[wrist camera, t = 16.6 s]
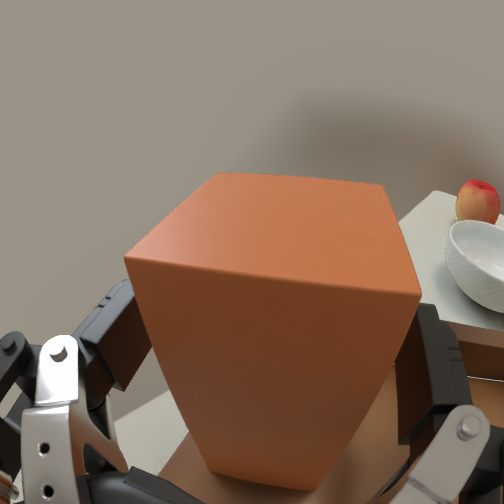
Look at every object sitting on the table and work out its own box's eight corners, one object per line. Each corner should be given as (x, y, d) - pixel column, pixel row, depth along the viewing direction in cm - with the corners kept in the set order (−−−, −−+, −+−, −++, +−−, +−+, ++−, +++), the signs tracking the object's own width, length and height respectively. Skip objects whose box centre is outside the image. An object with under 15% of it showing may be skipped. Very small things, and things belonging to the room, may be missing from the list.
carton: (209, 471, 11) (121, 256, 5) (238, 393, 15) (217, 171, 9) (314, 491, 10) (424, 294, 4) (328, 407, 14) (383, 184, 8)
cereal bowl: (432, 314, 30) (452, 264, 27) (436, 249, 42) (446, 209, 39) (538, 344, 23) (564, 300, 19) (519, 275, 35) (533, 238, 31)
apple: (450, 215, 54) (459, 171, 48) (488, 228, 49) (499, 184, 44) (450, 233, 47) (462, 182, 42) (493, 247, 42) (508, 198, 37)
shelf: (186, 508, 15) (129, 463, 9) (264, 378, 25) (264, 279, 19) (469, 560, 7) (577, 521, 1) (487, 424, 17) (556, 340, 11)
